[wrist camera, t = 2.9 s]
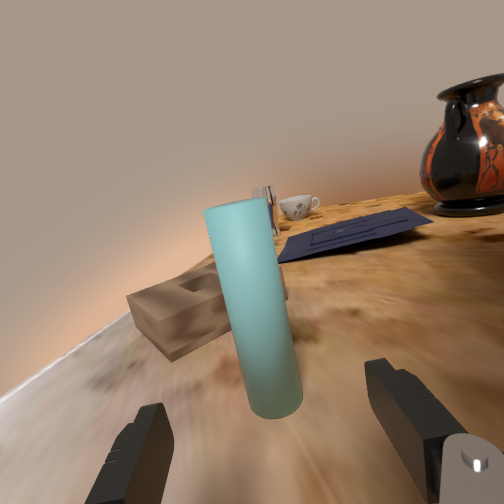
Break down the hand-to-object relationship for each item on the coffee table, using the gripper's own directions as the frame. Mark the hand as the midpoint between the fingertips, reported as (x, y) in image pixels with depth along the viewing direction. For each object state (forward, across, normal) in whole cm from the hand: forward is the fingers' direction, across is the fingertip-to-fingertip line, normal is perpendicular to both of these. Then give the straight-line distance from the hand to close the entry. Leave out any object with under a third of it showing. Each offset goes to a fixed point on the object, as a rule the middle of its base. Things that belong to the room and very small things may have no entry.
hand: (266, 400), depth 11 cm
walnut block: (+30, +7, +9) cm, 32 cm away
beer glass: (+78, -7, +9) cm, 79 cm away
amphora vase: (+59, -54, +9) cm, 81 cm away
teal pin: (+11, 0, +9) cm, 14 cm away
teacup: (+101, -21, +9) cm, 104 cm away
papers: (+55, -22, +10) cm, 60 cm away
